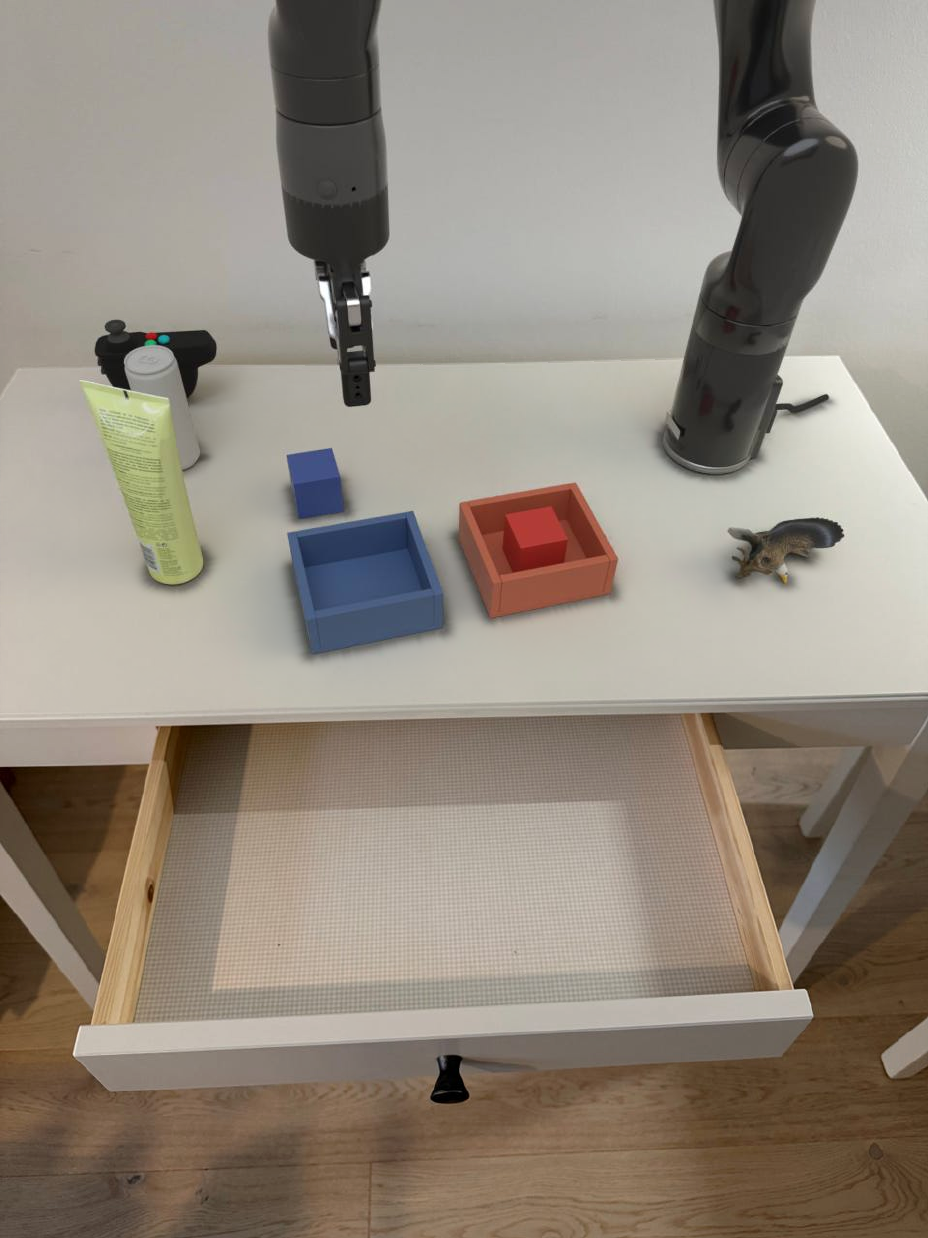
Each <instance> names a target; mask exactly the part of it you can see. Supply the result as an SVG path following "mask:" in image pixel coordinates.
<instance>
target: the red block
mask: <svg viewBox="0 0 928 1238" xmlns="http://www.w3.org/2000/svg"><path fill="white" fill-rule="evenodd" d="M567 542H568V538H567V536H566V534H565V532H564V530H563V528H562V526H561V524H560V522H559V521H558V519H557V517H556V515H555V513H554V511H553V509H552V507H551V506H550V507H544V508H539V509H533V510H528V511H522V512H517V513H511V514H506V515H505V524H504V536H503V551H504V554H505V556H506V558H507V561H508V563H509V565H510V567H511V570H512V572H513V573H515V572H520V571H525V570H530V569H535V568H540V567H546V566H551V565H556V564H561V563H564V561H565V555H566V549H567Z"/></svg>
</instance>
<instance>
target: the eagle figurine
mask: <svg viewBox="0 0 928 1238" xmlns="http://www.w3.org/2000/svg"><path fill="white" fill-rule="evenodd" d="M844 530H845V529H843V528H842V525H840V524H839V522H837V521H834V520H832V519H829V518H824V517H818V516H817V517H807V518H794V519H788V520H782V521H779V522H778V523H777V524H776V525H774V526H773V527H772V528H771V529H769V530H765V531H758V532H753V531H751V529H749V528H743V527H734V526H733V527H731V526H730V527H728V528H727V533H728V534H729V535H730V536H731V537H732V538H733V539H735V540H738V541H741V542H747V543H748V544H749V545H750V546H751V549H750V551H749V550H748V549H747V548H744V547H741V546H738V547H736V550H738V551H740V552H741V554H742V557H743V558H742V559H740V557H738V556H736V555H732V556H731V560H732V561H734V562H736V563H738V565H739V566H740V568H739V571H738V572H737V573H736V574H735V579H741V578H747V577H748V576H751V575H752V574H753V573H754V572H755V573H761V574H764V575H767V576H769V575H771V574H774V573H775V572H776V573H777V574H778V576H779V577H780V578H781V579H782V581H783V583H784V584H785V583H787V581H788V576H789V570H788V568H787V565H786V563H785V561H784V559H785V557H786V555H788V554H789V553H790V554H796V555H798V556H803V557H804V558H811V551H810V552H809V550H811V549H819V550H820V549H829V548H833V547H835V545H836V544H837V543H839V542H841V541H842V539H843V538H845V534H844V533H843V532H844ZM763 562H764V563H765V564H766V565H768V567H770V568H768V567H763V566H762V563H763Z"/></svg>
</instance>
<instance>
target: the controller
mask: <svg viewBox="0 0 928 1238" xmlns="http://www.w3.org/2000/svg"><path fill="white" fill-rule="evenodd" d="M126 327H127V325H126V322H125V321H124V320H121V319H111V320H108V321H106V323H105V325H104V329H105V331H106V332H107V333H109V334H104V335H101V336H99V337H98V338H97V339H96V342H95V343H94V344H95V346H94V349H93V350H94V355H95V356H96V357H97V363H96V364H97V366H98V367H100V374H101V375H105V376H106V378H107V380H108V382H109V383H110V386H111V387H116V388H121V389H125V390H130V391H131V388H130V385H129V382H128V379H127V376H126V373H125V364H124V359H125V357H126V355H127V354H129V353H130V352H131V351H133V350H134V349H137V348H139V347H143V346H149V345H158V346H163V347H166V348H168V349H170V350H171V351H172V353H173V355H174V357H175V359H176V361H177V364H178V368H179V371H180V375H181V379H182V383H183V387H184V391H185V394H186V398H187V400H188V399H190V397H191V396H192V395H193V394H194V392H195V390H196V388H197V384H198V380H199V368H201V367H203V366H205V365H207V364H210V363H211V362H213V361H215V359H216V356H217V351H218V350H217V349H218V346H217V342H216V340H215V338H214V337H213V336H212V335H211V333H210V332H209V331H208V330H206V329H196V330H195V329H194V330H179V331H161V332H153V331H149V332H144V331H133V332H128V331H126Z"/></svg>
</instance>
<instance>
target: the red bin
mask: <svg viewBox="0 0 928 1238" xmlns="http://www.w3.org/2000/svg"><path fill="white" fill-rule="evenodd" d="M550 506H551V507H552V509H553V511H554V513H555V515H556V517H557V519H558V521H559V522H560V524H561V526H562V528H563V530H564V532H565V534H566V536H567V538H568V542H567V549H566V555H565V561H564V563H561V564H556V565H551V566H546V567H540V568H535V569H530V570H525V571H520V572H515V573H513V572H512V570H511V567H510V565H509V563H508V561H507V558H506V556H505V554H504V551H503V536H504V524H505V515H506V514H511V513H517V512H522V511H528V510H533V509H539V508H544V507H550ZM457 536H458V540H459V543H460V545H461V548H462V550H463V554H464V555H465V559H466V560H467V563H468V566H469V568H470V570H471V573H472V575H473V578H474V580H475V584H476V586H477V588H478V591H479V593H480V595H481V598H482V601H483V603H484V605H485V608H486V611H487V613H488V615H489V618H490V619H492V618H497V617H502V616H503V617H504V616H508V615H513V614H518V613H522V612H527V611H531V610H536V609H541V608H547V607H552V606H556V605H562V604H566V603H571V602H575V601H576V602H577V601H582V600H586V599H591V598H596V597H600V596H606V595H610V594H611V593H612V588H613V584H614V580H615V574H616V570H617V568H618V567H617V566H618V562H619V557H618V556H617V553H615V551H614V548H613V547H612V545H611V543H610V541H609V540H608V538H607V536H606V534H605V532H604V531H603V528H602V527H601V525H600V523H599V522H598V519H597V518H596V516H595V514H594V512H593V511H592V509H591V507H590V505H589V503H588V502H587V499H586V498H585V495H584V494H583V493H582V491H581V489H580V487H579V485H578V483H577V482H576V481H575V482H569V483H563V484H558V485H552V486H547V487H540V488H535V489H528V490H522V491H518V492H517V491H516V492H511V493H505V494H500V495H494V496H487V497H483V498H476V499H471V500H467V501H462V502H459V505H458V535H457Z"/></svg>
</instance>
